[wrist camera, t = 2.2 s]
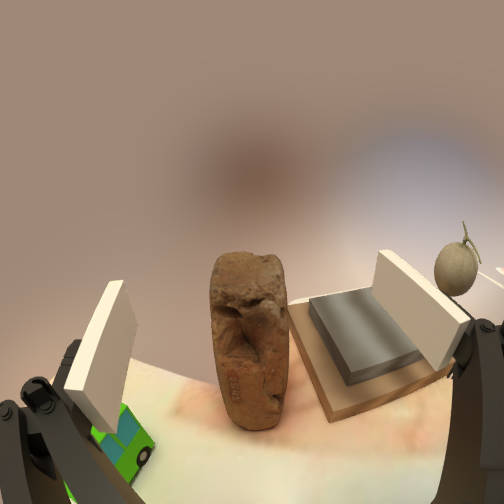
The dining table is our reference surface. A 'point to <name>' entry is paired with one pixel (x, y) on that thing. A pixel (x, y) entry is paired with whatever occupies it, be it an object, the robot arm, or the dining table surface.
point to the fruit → (456, 267)
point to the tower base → (334, 383)
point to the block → (250, 336)
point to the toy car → (124, 445)
